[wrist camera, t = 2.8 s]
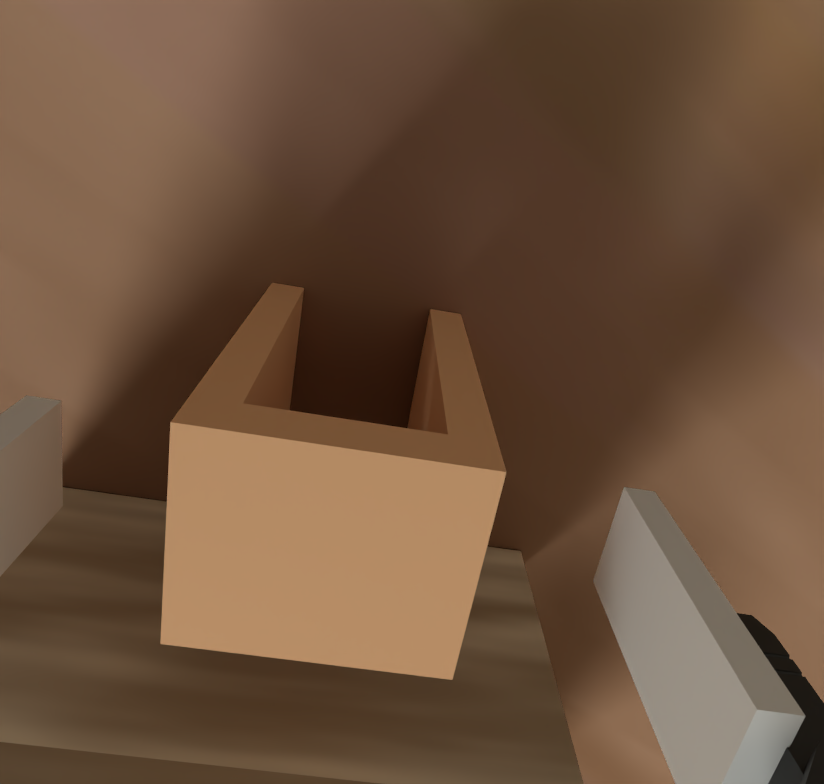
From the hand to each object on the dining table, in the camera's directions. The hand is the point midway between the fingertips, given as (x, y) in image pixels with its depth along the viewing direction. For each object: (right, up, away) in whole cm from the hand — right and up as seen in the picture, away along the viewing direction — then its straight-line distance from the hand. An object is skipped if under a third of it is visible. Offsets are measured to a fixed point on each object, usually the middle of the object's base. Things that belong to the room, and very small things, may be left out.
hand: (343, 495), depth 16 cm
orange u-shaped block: (0, +3, +6) cm, 7 cm away
